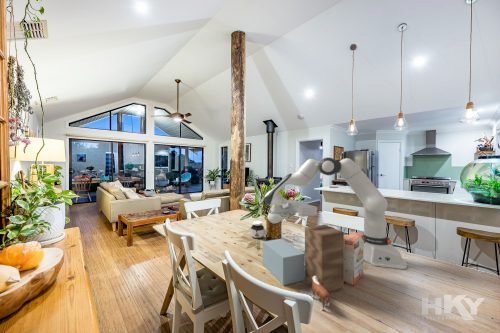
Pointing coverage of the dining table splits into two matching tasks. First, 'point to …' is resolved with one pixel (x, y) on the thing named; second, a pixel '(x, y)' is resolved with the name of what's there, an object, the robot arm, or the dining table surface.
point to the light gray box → (302, 208)
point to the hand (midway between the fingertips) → (293, 203)
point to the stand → (324, 256)
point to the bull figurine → (320, 292)
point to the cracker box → (353, 257)
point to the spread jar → (258, 230)
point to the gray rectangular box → (284, 261)
